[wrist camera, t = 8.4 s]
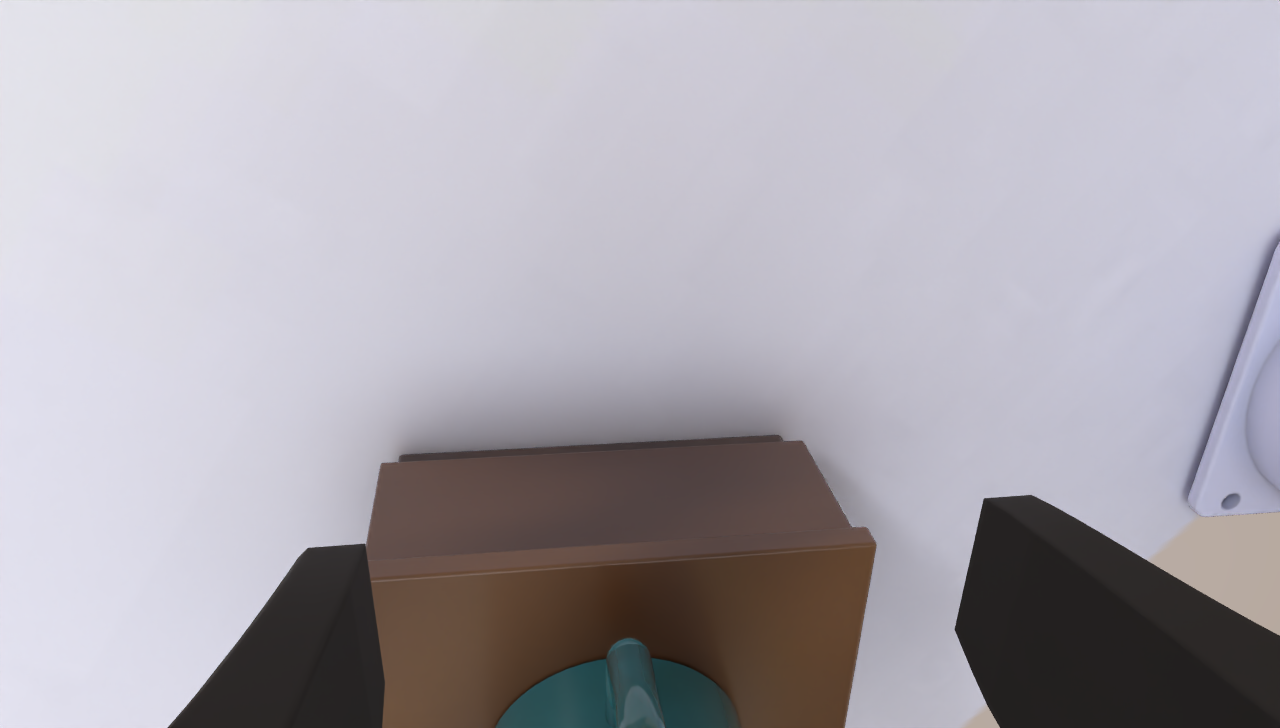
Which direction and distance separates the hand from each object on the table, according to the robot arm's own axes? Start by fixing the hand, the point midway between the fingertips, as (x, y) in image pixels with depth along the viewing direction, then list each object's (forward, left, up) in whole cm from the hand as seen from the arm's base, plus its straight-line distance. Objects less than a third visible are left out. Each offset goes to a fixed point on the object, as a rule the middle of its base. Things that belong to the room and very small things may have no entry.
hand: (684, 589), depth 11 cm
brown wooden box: (0, +9, -10) cm, 14 cm away
